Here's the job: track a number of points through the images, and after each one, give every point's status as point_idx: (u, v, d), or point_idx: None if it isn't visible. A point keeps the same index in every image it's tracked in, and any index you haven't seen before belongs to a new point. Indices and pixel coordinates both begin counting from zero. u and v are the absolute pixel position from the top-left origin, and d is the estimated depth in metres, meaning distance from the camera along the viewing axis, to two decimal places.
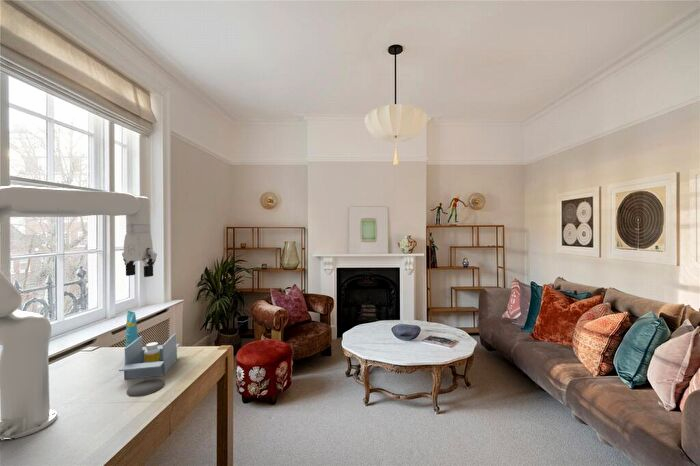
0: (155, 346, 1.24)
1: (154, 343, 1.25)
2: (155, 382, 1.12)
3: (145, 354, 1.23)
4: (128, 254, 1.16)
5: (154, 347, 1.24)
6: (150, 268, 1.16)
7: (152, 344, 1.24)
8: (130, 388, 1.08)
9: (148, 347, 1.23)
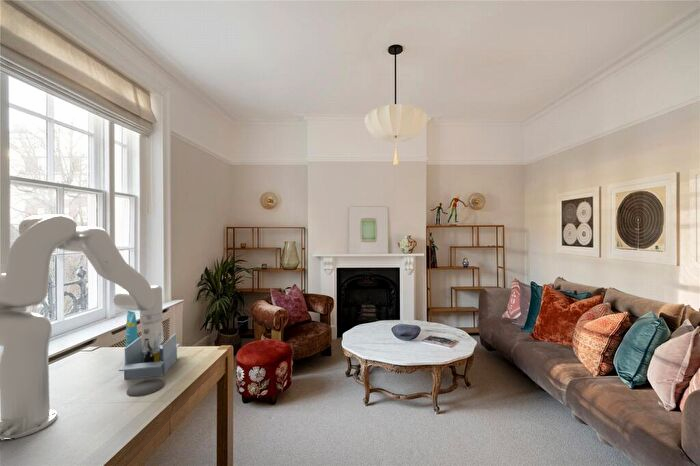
0: None
1: None
2: (155, 382, 1.12)
3: None
4: (158, 341, 1.24)
5: None
6: None
7: None
8: (130, 388, 1.08)
9: (148, 347, 1.23)
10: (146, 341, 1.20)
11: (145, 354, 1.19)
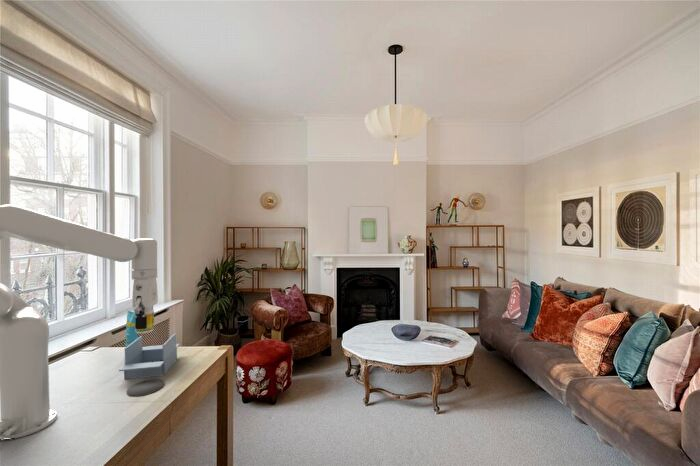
0: None
1: None
2: (155, 382, 1.12)
3: None
4: (152, 300, 1.10)
5: None
6: None
7: None
8: (130, 388, 1.08)
9: (140, 307, 1.09)
10: (138, 299, 1.06)
11: (137, 313, 1.05)
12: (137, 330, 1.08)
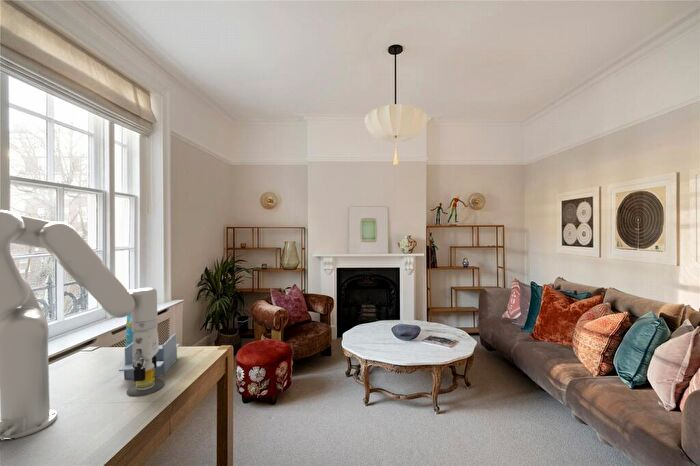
0: (148, 361, 1.08)
1: None
2: (155, 382, 1.12)
3: None
4: (152, 351, 1.08)
5: (147, 363, 1.08)
6: None
7: None
8: (130, 388, 1.08)
9: (140, 363, 1.07)
10: (138, 350, 1.04)
11: (135, 366, 1.02)
12: (137, 387, 1.07)
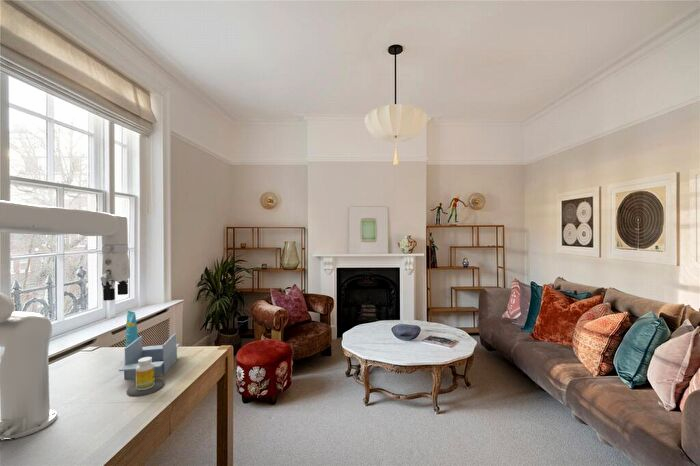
0: (149, 362, 1.08)
1: (147, 358, 1.10)
2: (155, 382, 1.12)
3: (137, 371, 1.07)
4: (122, 274, 1.13)
5: (147, 363, 1.08)
6: None
7: (145, 359, 1.09)
8: (130, 388, 1.08)
9: (140, 363, 1.07)
10: (107, 271, 1.09)
11: (103, 284, 1.07)
12: (137, 387, 1.07)
